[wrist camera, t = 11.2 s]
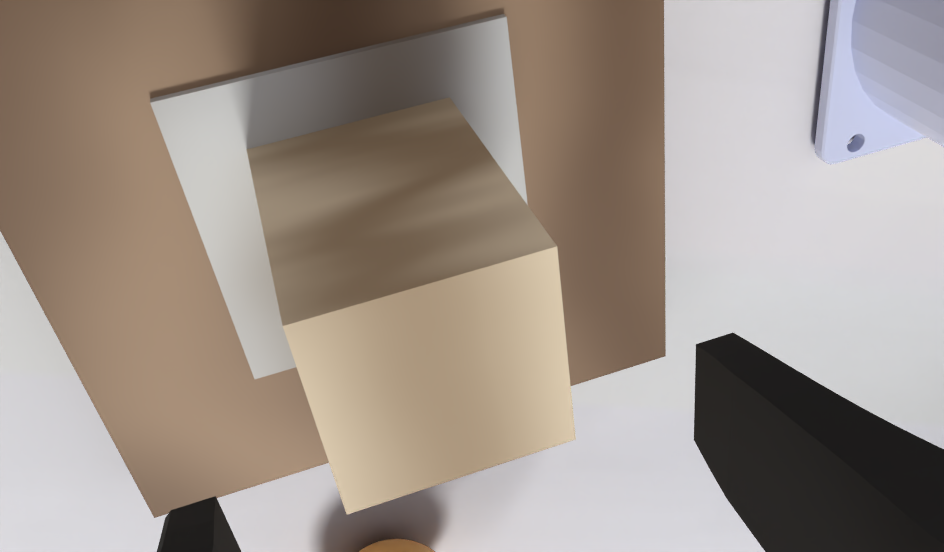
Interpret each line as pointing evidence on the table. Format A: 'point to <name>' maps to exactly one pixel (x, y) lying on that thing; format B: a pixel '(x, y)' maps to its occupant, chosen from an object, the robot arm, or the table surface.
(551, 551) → the table surface
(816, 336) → the table surface
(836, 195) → the table surface
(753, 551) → the table surface
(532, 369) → the maple block
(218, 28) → the walnut base
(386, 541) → the figurine
